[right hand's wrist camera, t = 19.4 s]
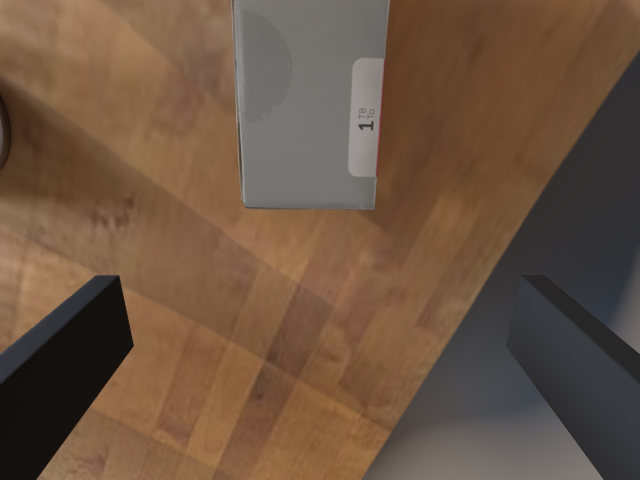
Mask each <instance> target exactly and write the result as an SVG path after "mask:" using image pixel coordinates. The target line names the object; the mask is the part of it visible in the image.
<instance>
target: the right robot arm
mask: <svg viewBox="0 0 640 480" xmlns="http://www.w3.org/2000/svg"><path fill="white" fill-rule="evenodd" d="M9 146H10V127H9V121H8V117H7V113H6V110H5V107H4V104H3V102H2V99H1V97H0V169H1V168H2V166H3V164H4V162H5V160H6V158H7V155H8V151H9ZM133 346H134V344H133V339H132V335H131V330H130V325H129V320H128V315H127V311H126V306H125V301H124V296H123V291H122V286H121V282H120V277H119V275H97V276H95V277H93V278H92V279H91V280H90V281H89V282H87V283H86V284H85V285H84V286H82V287H81V288H80V289H79V290H78V291H76V292H75V293H74V294H73V295H72V296H70V297H69V298H68V299H67V300H65V301H64V302H63V303H62V304H61V305H59V306H58V307H57V308H56V309H55V310H53V311H52V312H51V313H50V314H48V315H47V316H46V317H45V318H44V319H42V320H41V321H40V322H39V323H38V324H36V325H35V326H34V327H33V328H32V329H30V330H29V331H28V332H27V333H25V334H24V335H23V336H22V337H21V338H19V339H18V340H17V341H16V342H15V343H13V344H12V345H11V346H10V347H8V348H7V349H6V350H5V351H4V352H2V353H1V354H0V480H36V479H37V478H38V477H39V475H40V474H41V472H42V471H43V470H44V468H45V467H46V466H47V464H48V463H49V462H50V460H51V459H52V457H53V456H54V455H55V453H56V452H57V451H58V449H59V448H60V446H61V445H62V444H63V442H64V441H65V440H66V438H67V437H68V435H69V434H70V433H71V431H72V430H73V429H74V427H75V426H76V424H77V423H78V422H79V420H80V419H81V418H82V416H83V415H84V414H85V412H86V411H87V409H88V408H89V407H90V405H91V404H92V403H93V401H94V400H95V398H96V397H97V396H98V394H99V393H100V392H101V390H102V389H103V387H104V386H105V385H106V383H107V382H108V381H109V379H110V378H111V377H112V375H113V374H114V372H115V371H116V370H117V368H118V367H119V366H120V364H121V363H122V361H123V360H124V359H125V357H126V356H127V355H128V353H129V352H130V350H131V349H132V348H133ZM506 346H507V348H508V349H509V350H510V352H511V353H512V355H513V356H514V357H515V359H516V360H517V361H518V363H519V364H520V366H521V367H522V368H523V370H524V371H525V372H526V374H527V375H528V377H529V378H530V379H531V381H532V382H533V383H534V385H535V386H536V387H537V389H538V390H539V392H540V393H541V394H542V396H543V397H544V398H545V400H546V401H547V403H548V404H549V405H550V407H551V408H552V409H553V411H554V412H555V414H556V415H557V416H558V418H559V419H560V420H561V422H562V423H563V424H564V426H565V427H566V428H567V430H568V431H569V433H570V434H571V435H572V437H573V438H574V440H575V441H576V442H577V444H578V445H579V446H580V448H581V449H582V451H583V452H584V453H585V455H586V456H587V457H588V459H589V460H590V461H591V463H592V464H593V466H594V467H595V468H596V470H597V471H598V472H599V474H600V475H601V477H602V478H603V479H604V480H640V354H639V353H638V352H636V351H635V350H634V349H633V348H632V347H630V346H629V345H628V344H627V343H625V342H624V341H623V340H622V339H621V338H619V337H618V336H617V335H616V334H615V333H613V332H612V331H611V330H610V329H608V328H607V327H606V326H605V325H604V324H602V323H601V322H600V321H599V320H598V319H596V318H595V317H594V316H593V315H591V314H590V313H589V312H588V311H587V310H585V309H584V308H583V307H582V306H581V305H579V304H578V303H577V302H576V301H575V300H573V299H572V298H571V297H570V296H568V295H567V294H566V293H565V292H564V291H562V290H561V289H560V288H559V287H558V286H556V285H555V284H554V283H553V282H551V281H550V280H549V279H548V278H547V277H545V276H544V275H542V276H541V275H540V276H539V275H536V276H535V275H534V276H531V275H529V276H526V275H523V276H521V277H520V282H519V286H518V291H517V296H516V301H515V306H514V311H513V316H512V320H511V325H510V330H509V335H508V339H507V344H506Z"/></svg>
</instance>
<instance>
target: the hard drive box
mask: <svg viewBox="0 0 640 480" xmlns="http://www.w3.org/2000/svg"><path fill="white" fill-rule="evenodd" d="M389 5H390V0H231V7H232V27H233V47H234V70H235V93H236V116H237V139H238V160H239V176H240V189H241V200H242V202H243V204H244V205H245V208H248V209H346V210H374V209H375V196H376V182H377V172H378V159H379V145H380V132H381V118H382V102H383V85H384V70H385V51H386V38H387V26H388V16H389Z"/></svg>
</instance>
